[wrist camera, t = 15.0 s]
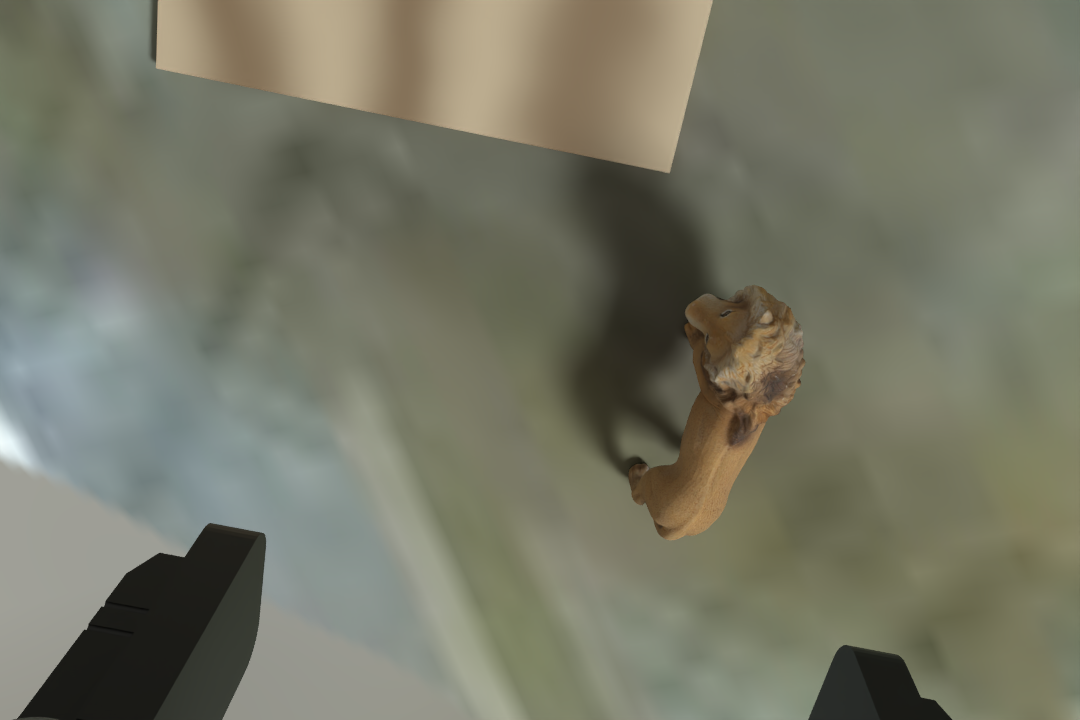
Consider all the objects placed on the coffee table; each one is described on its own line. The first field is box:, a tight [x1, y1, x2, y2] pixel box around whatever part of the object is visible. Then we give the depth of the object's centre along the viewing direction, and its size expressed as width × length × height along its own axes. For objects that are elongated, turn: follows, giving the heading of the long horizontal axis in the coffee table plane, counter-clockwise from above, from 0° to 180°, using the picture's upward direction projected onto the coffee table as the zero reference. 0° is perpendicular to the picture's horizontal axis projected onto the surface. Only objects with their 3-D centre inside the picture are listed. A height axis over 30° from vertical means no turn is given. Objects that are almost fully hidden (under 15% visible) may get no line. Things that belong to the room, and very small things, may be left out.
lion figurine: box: [629, 285, 805, 540], centre depth 40 cm, size 15×5×9 cm, turn 171°
